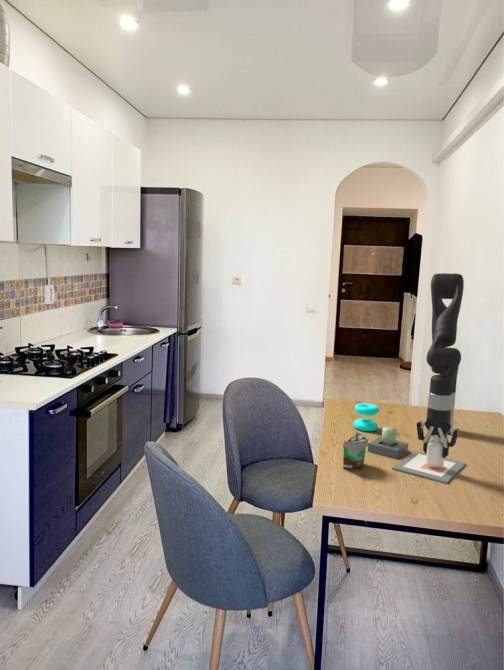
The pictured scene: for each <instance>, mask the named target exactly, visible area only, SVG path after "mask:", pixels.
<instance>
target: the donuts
mask: <svg viewBox="0 0 504 670" xmlns="http://www.w3.org/2000/svg"><path fill="white" fill-rule="evenodd" d="M354 410H355V412H356V413H357V414H358V415H362V416H368V417H369V416H371V417H372V416H375V415H377V414H378V413H379V412H380V408H379V406H378V405H376V404H373V403H370V402H369V403H368V402H363V403H362V402H361V403H356V405H355V406H354ZM353 427H354V428H355V429H356V430H359V431H361V432H375V431H377V430H378V428H379V424H378V422H376V421H375V420H374V419H369V418H358V419H355V420H354V422H353Z"/></svg>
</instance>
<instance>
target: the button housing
mask: <svg viewBox="0 0 504 670" xmlns="http://www.w3.org/2000/svg"><path fill="white" fill-rule="evenodd" d="M381 443H382V435H381V436H378V437H377V438H375V439H374V440H372V441H370V442H368V446H367V452H368V453H372V454H375V455H380V456H384V457H388V458H392V459H396V460H397V459H398V458H400V457H401V456H402V455H404V454H405V453H407V452H408V451H409V443H408V442H406V441H401V440H397V439H396V444H395V446H393V447H390V446H386V445H382V444H381Z"/></svg>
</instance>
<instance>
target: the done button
mask: <svg viewBox="0 0 504 670" xmlns="http://www.w3.org/2000/svg"><path fill="white" fill-rule="evenodd" d="M381 431H382V432H381V437H382V443H381V444H382V445H386V446H390V447H393V446H395V444H396V440H397V428H396V427H393V426H382V429H381Z"/></svg>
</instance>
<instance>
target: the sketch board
mask: <svg viewBox="0 0 504 670" xmlns="http://www.w3.org/2000/svg"><path fill="white" fill-rule="evenodd" d="M466 464H467V462H464V461H460V460H456V459H451V458H447V457H445V458H444V465H443V466H440V467H434V466H428V465H427V464H426V454H425V452H424V451H423V452H422V451H418V450H414V451H412V452H411V453H410V454H408V455H407V456H406V457H404V458H403V459H401V460H400V461H399V462H398V463H396V464H395V465H394V466H392V467H391V469H392V470H393V471H397V472H401V473H404V474H408V475H411V476H416V477H420V478H423V477H424V479H426V478H428V479H427V480H430V479H431V481H434V480H435V481H434V482H438V483H442V484H446V485H447V484H448V483H449V482H450V481H451V480H452V479H453V478H454V477H455V476H456V475H457V474H458V473H459V472H460V471H461V470H462V469H463V468H464V467H465V466H466Z"/></svg>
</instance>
